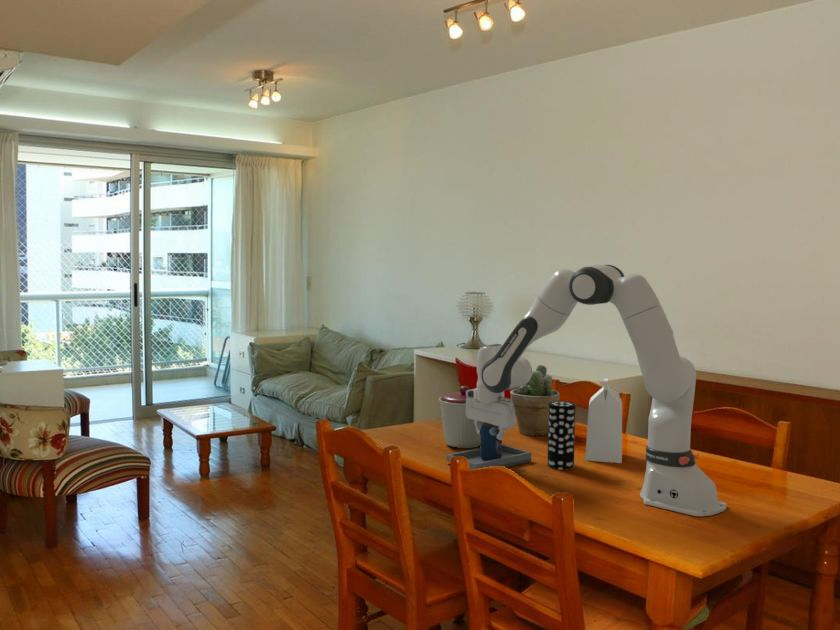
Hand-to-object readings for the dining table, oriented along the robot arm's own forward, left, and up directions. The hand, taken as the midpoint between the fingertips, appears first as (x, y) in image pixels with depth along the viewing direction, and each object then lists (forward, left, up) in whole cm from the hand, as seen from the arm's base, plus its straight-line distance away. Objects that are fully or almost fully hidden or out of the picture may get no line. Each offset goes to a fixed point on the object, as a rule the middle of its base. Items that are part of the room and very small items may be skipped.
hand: (489, 436), depth 238 cm
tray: (0, 0, -8) cm, 8 cm away
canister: (+22, -8, -9) cm, 25 cm away
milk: (-17, -36, -9) cm, 41 cm away
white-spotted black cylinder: (-16, -16, -9) cm, 24 cm away
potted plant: (+21, -42, -9) cm, 48 cm away
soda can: (0, 0, -8) cm, 8 cm away
